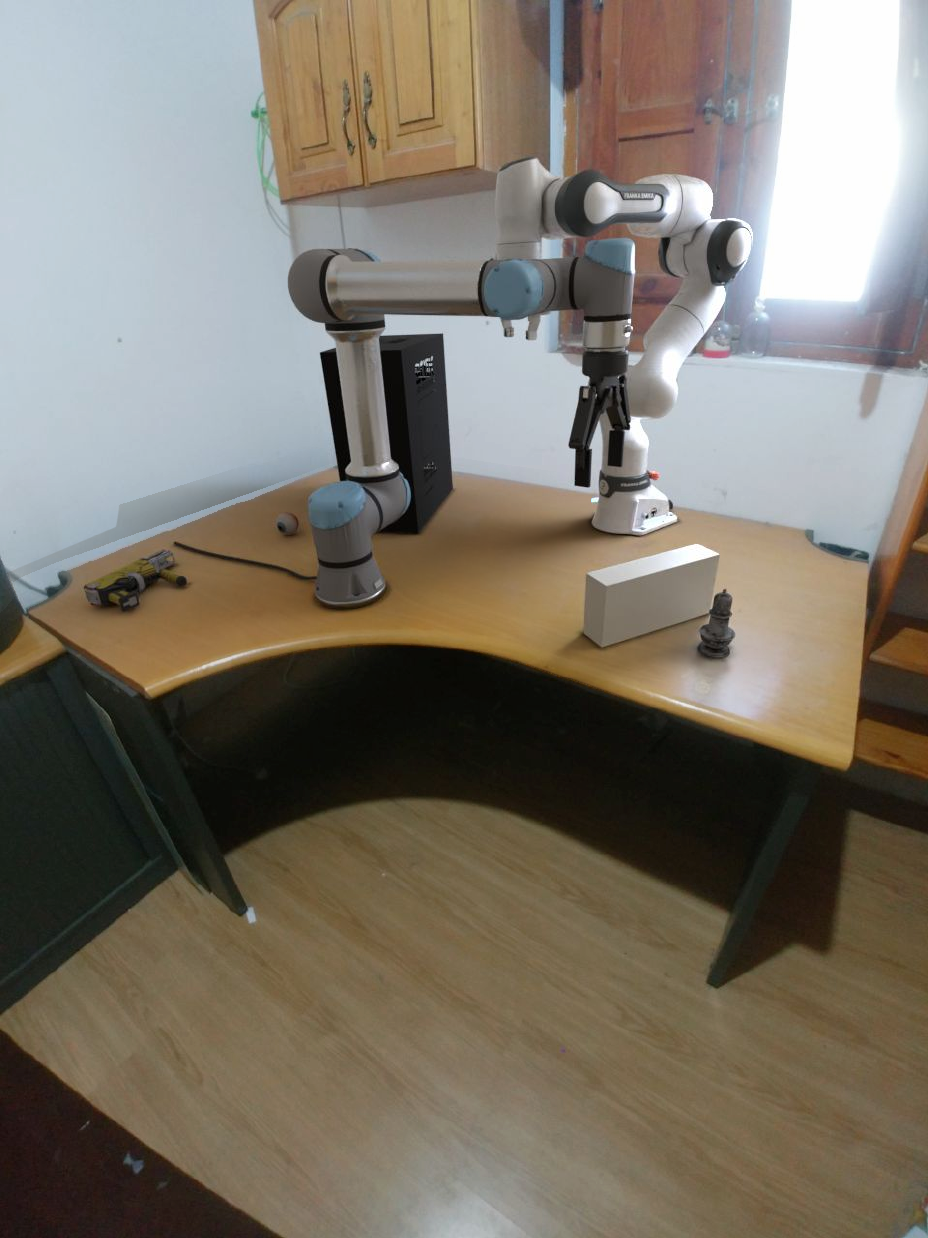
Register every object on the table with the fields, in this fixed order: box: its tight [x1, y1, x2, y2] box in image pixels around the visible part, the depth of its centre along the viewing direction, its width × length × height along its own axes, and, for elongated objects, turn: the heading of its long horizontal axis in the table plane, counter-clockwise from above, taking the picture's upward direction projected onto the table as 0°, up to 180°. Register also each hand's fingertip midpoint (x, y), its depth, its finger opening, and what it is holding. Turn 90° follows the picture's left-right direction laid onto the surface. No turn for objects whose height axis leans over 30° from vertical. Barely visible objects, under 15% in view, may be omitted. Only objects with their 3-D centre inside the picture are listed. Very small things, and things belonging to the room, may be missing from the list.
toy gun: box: [83, 548, 188, 613], centre depth 139 cm, size 5×24×15 cm
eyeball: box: [275, 511, 300, 536], centre depth 163 cm, size 6×6×6 cm
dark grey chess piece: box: [697, 588, 736, 659], centre depth 103 cm, size 6×6×12 cm
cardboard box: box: [319, 332, 454, 535], centre depth 167 cm, size 38×20×45 cm, turn 167°
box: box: [582, 543, 721, 648], centre depth 112 cm, size 25×6×12 cm, turn 115°
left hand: (599, 475), depth 110 cm, fingers open, 13 cm apart
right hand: (519, 338), depth 125 cm, fingers open, 8 cm apart
